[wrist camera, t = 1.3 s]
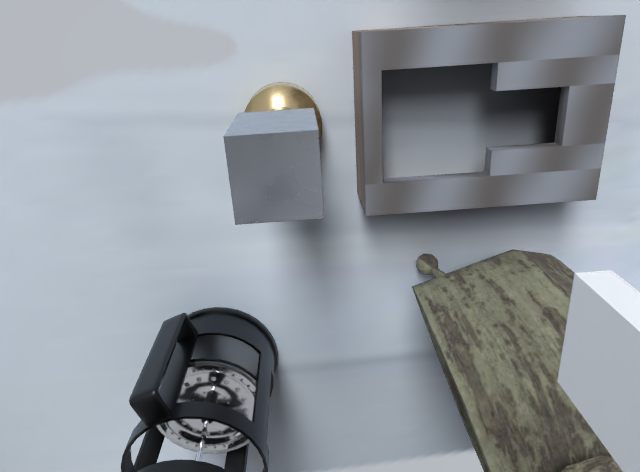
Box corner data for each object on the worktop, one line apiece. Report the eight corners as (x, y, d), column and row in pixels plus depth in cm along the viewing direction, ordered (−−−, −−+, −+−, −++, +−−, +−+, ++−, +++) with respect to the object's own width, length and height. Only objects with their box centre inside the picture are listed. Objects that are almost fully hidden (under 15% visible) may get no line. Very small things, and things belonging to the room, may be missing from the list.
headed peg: (249, 160, 36) (223, 237, 23) (240, 85, 34) (207, 123, 21) (322, 155, 36) (337, 229, 23) (318, 79, 34) (331, 114, 21)
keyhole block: (357, 192, 37) (366, 215, 33) (352, 31, 33) (361, 32, 28) (558, 177, 37) (595, 199, 33) (580, 16, 33) (625, 15, 28)
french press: (299, 382, 44) (303, 720, 22) (203, 419, 45) (120, 776, 24) (235, 272, 39) (165, 563, 18) (130, 317, 40) (-51, 641, 19)
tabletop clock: (395, 246, 39) (538, 568, 16) (508, 203, 38) (834, 479, 15) (447, 384, 44) (610, 772, 21) (547, 349, 43) (831, 717, 20)
